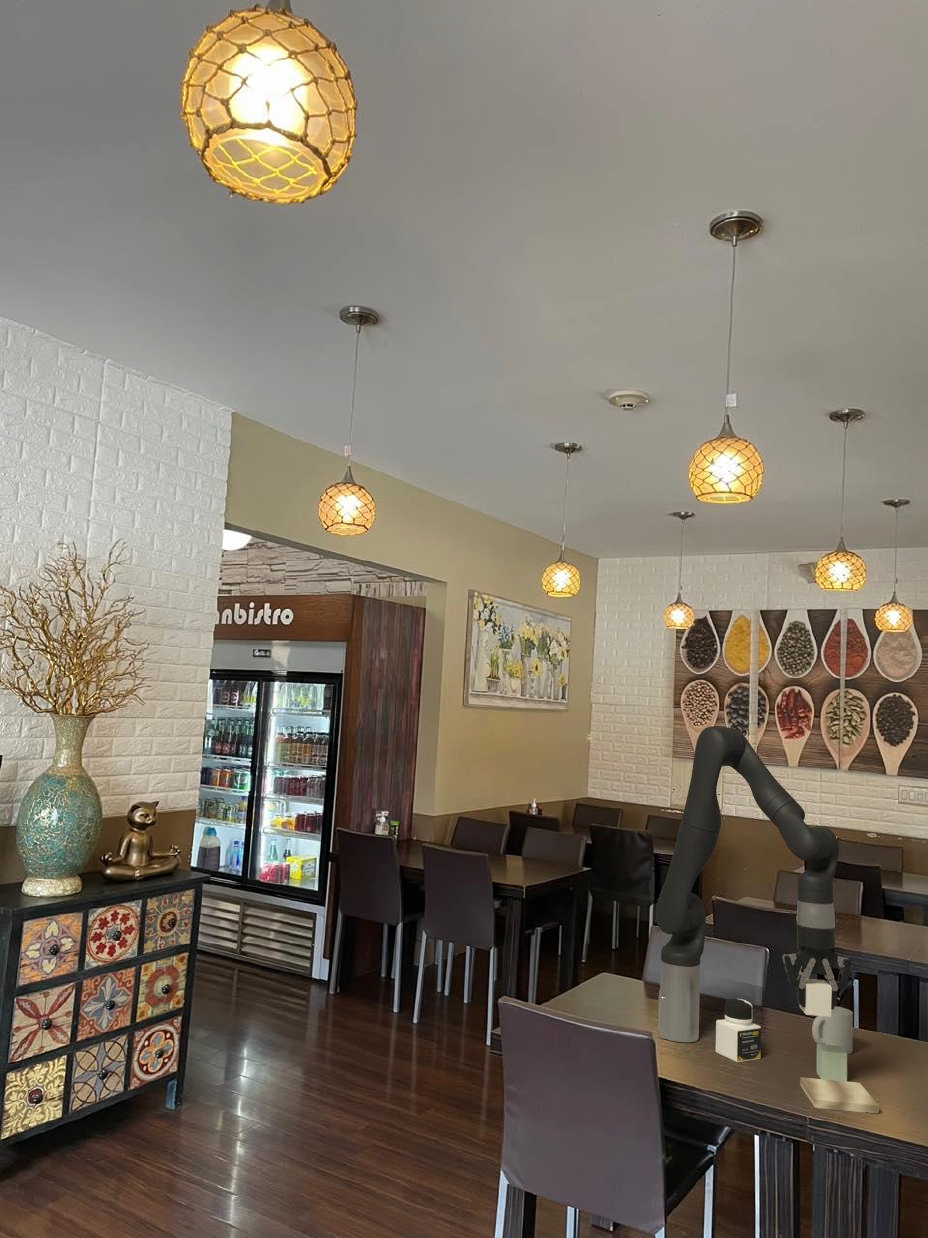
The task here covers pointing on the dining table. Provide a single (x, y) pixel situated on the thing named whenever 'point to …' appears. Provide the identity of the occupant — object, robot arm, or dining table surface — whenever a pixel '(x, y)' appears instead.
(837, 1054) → the sage block
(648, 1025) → the dining table surface
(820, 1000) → the cream block
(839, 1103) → the beech board
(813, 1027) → the cup
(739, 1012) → the medicine bottle
